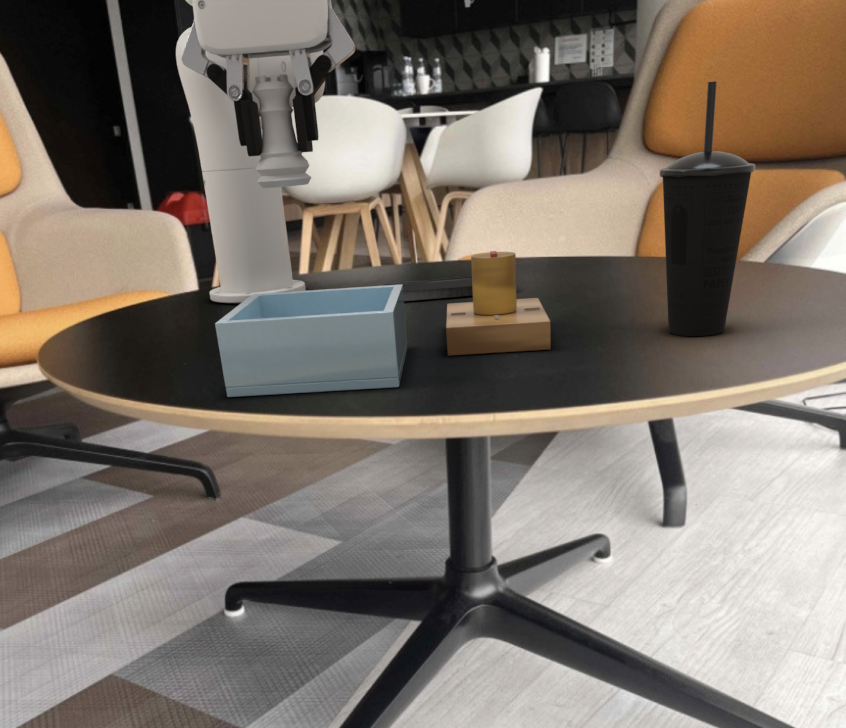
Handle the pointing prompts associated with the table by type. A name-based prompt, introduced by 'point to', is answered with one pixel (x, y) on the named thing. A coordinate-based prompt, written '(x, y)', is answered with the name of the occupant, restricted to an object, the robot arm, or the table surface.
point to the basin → (314, 341)
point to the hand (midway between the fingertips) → (280, 151)
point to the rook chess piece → (278, 135)
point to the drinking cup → (703, 232)
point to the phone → (436, 288)
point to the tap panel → (497, 329)
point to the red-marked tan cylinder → (494, 283)
